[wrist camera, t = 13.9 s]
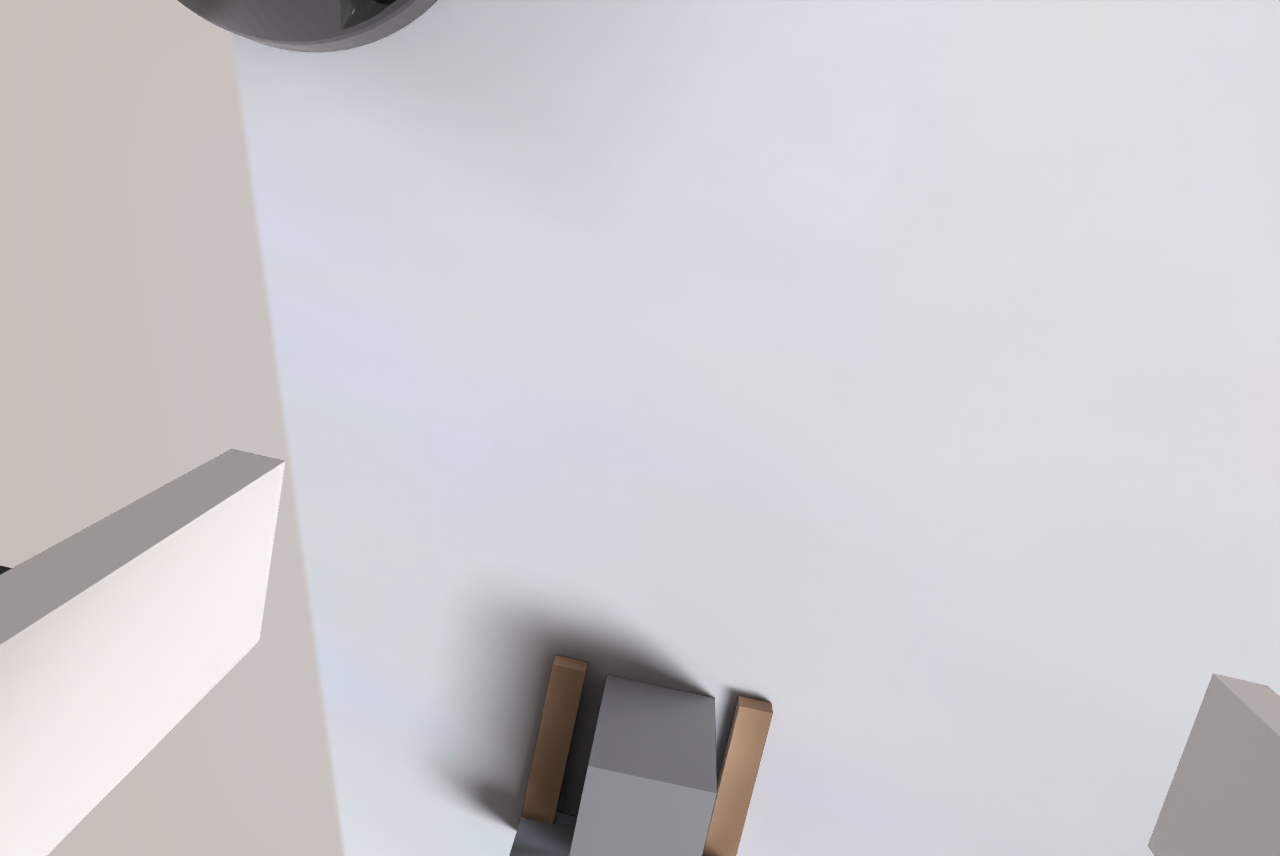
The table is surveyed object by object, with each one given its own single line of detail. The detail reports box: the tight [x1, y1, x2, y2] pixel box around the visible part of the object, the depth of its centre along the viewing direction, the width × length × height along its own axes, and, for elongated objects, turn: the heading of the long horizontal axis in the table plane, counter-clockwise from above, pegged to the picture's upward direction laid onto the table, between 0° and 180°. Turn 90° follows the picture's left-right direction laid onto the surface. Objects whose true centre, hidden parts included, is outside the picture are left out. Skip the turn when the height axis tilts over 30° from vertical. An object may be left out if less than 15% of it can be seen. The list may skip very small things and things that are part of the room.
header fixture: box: [510, 655, 773, 856], centre depth 44 cm, size 10×9×9 cm
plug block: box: [569, 675, 717, 856], centre depth 44 cm, size 5×7×8 cm
